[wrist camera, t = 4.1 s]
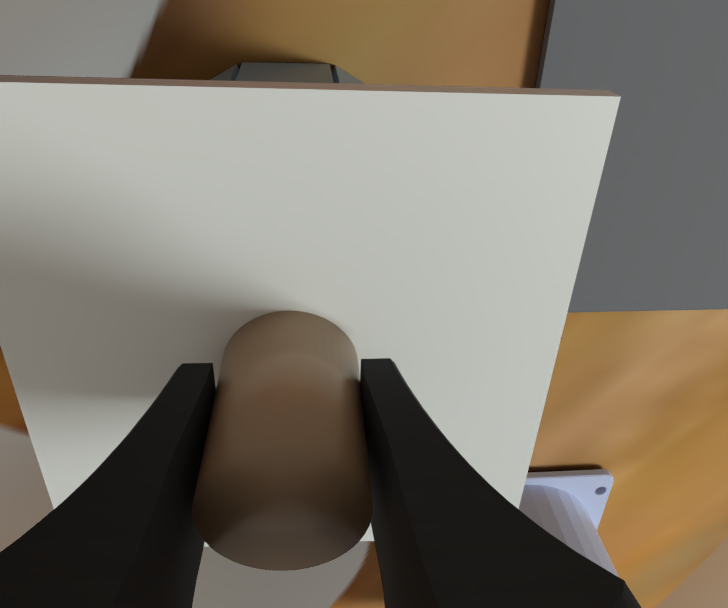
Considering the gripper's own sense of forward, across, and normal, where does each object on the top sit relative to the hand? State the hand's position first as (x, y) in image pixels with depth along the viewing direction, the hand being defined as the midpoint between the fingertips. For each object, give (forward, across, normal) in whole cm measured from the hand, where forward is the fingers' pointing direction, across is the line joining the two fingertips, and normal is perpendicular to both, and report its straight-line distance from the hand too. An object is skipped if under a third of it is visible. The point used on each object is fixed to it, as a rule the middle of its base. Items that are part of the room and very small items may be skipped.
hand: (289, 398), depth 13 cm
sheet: (+1, 0, 0) cm, 1 cm away
